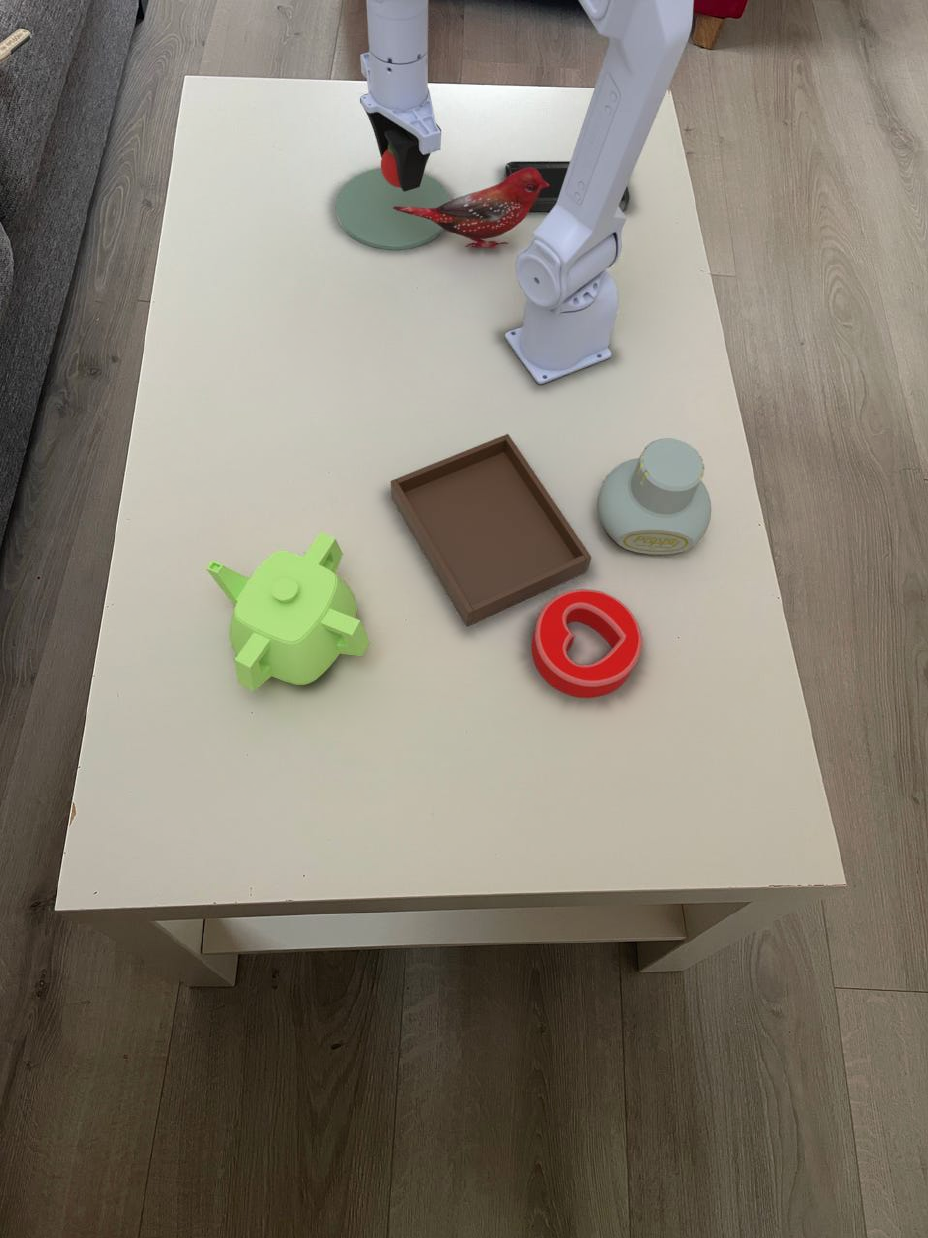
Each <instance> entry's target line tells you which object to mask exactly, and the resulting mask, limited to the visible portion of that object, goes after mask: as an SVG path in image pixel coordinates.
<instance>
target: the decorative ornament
mask: <svg viewBox="0 0 928 1238" xmlns="http://www.w3.org/2000/svg"><path fill="white" fill-rule="evenodd" d="M573 622H574V623H575V622H577V623H581V624H584V625H587V626H588V627H590V628H591V629H593V630H594V631H595V632H597V633H598V634H600V635H601V637H603V638H604V640H605V641H606V642H607V643H608V644H609V646H610V647H611V649H610V651H608V653H606V654H605V655H604V656H603V657H601V659H599V660H597V661H595V662H593V663H589V664H580V663H576V662H574V661H573V660H572V659H571V658H570V657H569V655H568V652H567V651H569V650H571V647H572V645H573V642H574V640H575V637H576V635H574V634H573V632H572V631H571V630H570V629H569V627H568V625H567V624H569V623H573ZM533 630H534V631H533V635H532V639H531V656H532V659H533V662H534V665H535V667H536V669H537V671H538V673H539V674H540V676H541V677H542V678H543V679H544V680H545V682H547V684H549V685H550V686H552V687H553V689H556V690H558V691H559V692H561V693H563V694H566V695H568V696H571V697H575V698H580V699H581V698H582V699H591V698H592V699H593V698H597V697H602V696H605V695H609V694H610V693H612V692H614V691H617V689H619V688H620V687H621V686H622V685H624V683H625V682H626V681H627V679H628V678H629V676H630V675H631V673H632V671H633V669H634V667H635V666H636V664H637V662H638V660H639V659H640V655H641V653H642V647H643V637H642V632H641V629H640V625H639V622H638V621H637V619H636V617H635V616H634V614H633V612H632V611H631V610H630V609H629V607H627V605H625V604H624V603H623V602H622V601H620V600H619V599H617V598H616V597H615V596H612V595H611V594H609V593H606V592H605V591H600V590H596V589H587V588H586V589H573V590H569V591H565V592H563V593H560V594H558V595H557V596H555V597H553V598H552V599H551V600H549V601H548V602H547V603H546V604H545V605H544V606H543V608H542V609H541V611H540V613H539V615H538V617H537V620H536V624H535V627H534V629H533Z"/></svg>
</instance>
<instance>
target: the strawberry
mask: <svg viewBox="0 0 928 1238" xmlns="http://www.w3.org/2000/svg"><path fill="white" fill-rule="evenodd" d="M380 168H381V171H382V174H383V177H384V178H385V180H386V181H387V182H388V183H389V184H391V185H392V186H395V187H399V188H401V186H400V183H399V179H398V173H397V166H396V161H395V157H394V153H393V150H392V148H391V146H390V143H389V144H388V149H387V150H386V151H385V152H384V154H383V156H382V158H380Z"/></svg>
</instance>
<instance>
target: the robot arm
mask: <svg viewBox="0 0 928 1238" xmlns="http://www.w3.org/2000/svg"><path fill="white" fill-rule="evenodd" d="M365 2H366V20H367V21H366V22H367V38H368V52H365V53H361V54H360V57H359V59H360V72H361V75H362V76H363V77H364V78H365V79H366V84H367V91H368V92H367V93H365V94H362V95H361V96H360V97H359V103H360V105H361V107H362V108H363V109H364V112H365V114H366V115H367V117H368V120H369V122H370V125H371V128H372V130H373V133H374V136H375V140H376V144H377V148H378V152H379V155H380V159H382V156H383V154H384V152H385V151H386V150H387V149H388V144H389V143H390V146H391V148H392V150H393V153H394V157H395V161H396V166H397V173H398V179H399V183H400V186H401V189H402V190H403V191H404V192H405V191H409V190H412V189H415V188H418V187H420V184H421V181H422V177H423V174H425V170H426V167H427V164H428V161H429V159H430V157H431V155H432V153H434V152H438V151H441V147H442V129H441V128H440V126H439V125H438V124H437V121H436V118H435V113H434V107H433V102H432V101H433V100H432V97H431V91H430V88H429V0H366V1H365ZM694 2H695V0H578V3H579V4H580V5H581V7H582V9H583V10H584V12H585V13H586V15H587V17H588V19H589V20H590V21H591V23H592V25H593V26H594V28H595V29H596V31H597V33H598V34H599V36H603V37H605V38H607V39H609V43H608V47H607V49H606V52H605V56H604V59H603V62H602V65H601V68H600V71H599V75H598V77H597V80H596V83H595V85H594V89H593V92H592V94H591V98H590V101H589V104H588V106H587V110H586V113H585V116H584V119H583V121H582V126H581V128H580V131H579V134H578V137H577V140H576V143H575V146H574V148H573V152H572V155H571V158H570V160H569V161H570V164H569V167H568V170H567V173H566V176H565V179H564V182H563V185H562V188H561V191H560V194H559V197H558V200H557V203H556V205H555V206H554V207H553V209H552V210H551V211H549V212H548V213H547V215H546V216H545V217H544V218H543V220H542V221H541V222H540V224H539V225H538V226H537V227H536V229H535V230H534V231H533V233H532V237H531V239H530V242H529V243H528V245H526V246H525V247H524V248H522V249H521V250H520V251H519V252H518V254H517V256H516V258H515V265H514V267H515V269H514V270H515V275H516V280H517V283H518V286H519V287H520V289H521V291H522V293H523V294H524V296H525V303H524V304H525V305H524V311H523V318H522V326H520V327H518V328H514V329H512V330H509V331H506V333H504V339H505V340H506V342H507V343H508V344H509V345H510V347H511V349H512V350H513V351H514V353H515V354H516V356H517V357H518V358H519V360H520V361H521V363H522V364H523V365H524V366H525V368H526V369H527V370H528V373H530V375H531V377H532V378H533V379H534V381H535V382H536V383H537V384H539V385H543V384H546V383H549V382H551V381H554V380H556V379H560V378H562V377H564V376H566V375H569V374H573V373H574V372H577V371H579V370H583V369H584V368H587V367H590V366H593V365H595V364H597V363H601V362H602V361H605V360H608V359H610V358H611V357H612V351H611V350H610V349H609V344H610V341H611V337H612V334H613V330H614V326H615V322H616V319H617V314H618V312H619V311H618V310H619V295H618V290H617V285H616V283H615V281H614V279H613V276H611V274H610V272H609V271H608V269H610V268H611V267H613V266H614V265H615V264H617V262H618V260H619V259H620V257H621V255H622V248H623V245H622V244H623V243H622V234H623V228H624V226H625V223H626V221H627V217H626V215H625V213H624V212H623V210H621V209H620V208H619V203H620V201H621V199H622V196H623V194H624V192H625V189H626V187H627V186H628V185H629V182H630V180H631V177H632V175H633V172H634V170H635V167H636V165H637V163H638V160H639V158H640V156H641V154H642V151H643V149H644V146H645V144H646V142H647V139H648V136H649V134H650V132H651V130H652V127H653V124H654V122H655V120H656V117H657V115H658V113H659V111H660V108H661V106H662V103H663V101H664V98H665V96H666V94H667V91H668V89H669V87H670V85H671V83H672V80H673V77H674V75H675V72H676V71H677V68H678V65H679V64H680V60H681V58H682V55H683V53H684V51H685V49H686V47H687V44H688V41H689V38H690V35H691V31H692V27H693V17H694Z"/></svg>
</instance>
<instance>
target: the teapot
mask: <svg viewBox="0 0 928 1238" xmlns="http://www.w3.org/2000/svg"><path fill="white" fill-rule="evenodd" d="M343 555H344V553H343V551H342V549H341V546H340V544H339V542H338V541H337V539H336V538H335V537H333V536H331V535H328V534H327V533H324V532H322V531H320V532H319V533H318V534H317V536H316V537H315V539H314V541H313V542H312V544H311V545H310V546H309V548H308V549H307V551H306V552H305V554H304V556H301V555H299V554H296V553H293V552H290V551H286V550H278V551H275V552H273V553H272V554H271V555H269V556H268V557H267V558H266V559H265V560H264V561H263V562H261V564H260V565H259V566H258V567H257V568H256V570H255V571H254V572H253V573H252V575H250V578H249V577H248V576H247V577H246V576H245V575H243V574H241V573H239V572H237V571H235V570H233V569H231V568H230V567H228V566H225V564H223V563H221V562H219V561H216V560H214V559H212V560H211V561H210V562H209V563H208V564H207V566H206V567H205V570H206V571H207V572H208V573H209V575H210V576H211V577H212V579H213V580H214V581H215V582H216V584H217V585H218V587H219V588H220V589H221V591H222V592H223V593H224V594H225V596H226V597H227V599H229V601H230V603H231V604H232V606H234V608H233V612H232V615H231V619H230V623H229V641H230V645H231V648H232V651H233V653H234V654H235V655H236V656H235V658H234V666H235V673H236V678H237V684H239V685H241V686H242V687H244V688H246V689H249V690H250V691H252V692H254V691H256V690H257V689H258V688H260V686H262V685H263V684H265V682H266V681H268V680H269V679H270V678H271V677H272V678H275V679H278V680H280V681H283V682H286V683H289V684H292V685H297V686H304V685H305V686H306V685H308V684H311V683H313V682H315V681H316V680H318V679H319V678H320V677H321V676H322V675H323V674H324V673H325V672H326V671H327V670H329V668H330V667H331V666H332V665H333V663H334V662H335V661H336V660H337V659H338V658H339V656H340V655H350V656H359V657H364V654H365V653H366V650H367V649H368V647H369V645H370V643H371V640H370V639H369V638H370V637H368V634H367V632H366V629H365V627H364V625H363V623H362V620H361V619H358V618H357V611H358V605H357V600H356V597H355V594H354V592H353V590H352V589H351V587H350V585H349V584H348V582H346V581H345V580H344V579H343V578H342V577H340V575H338V574H337V573H336V572H337V570H338V567H339V565H340V562H341V560H342V557H343Z"/></svg>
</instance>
